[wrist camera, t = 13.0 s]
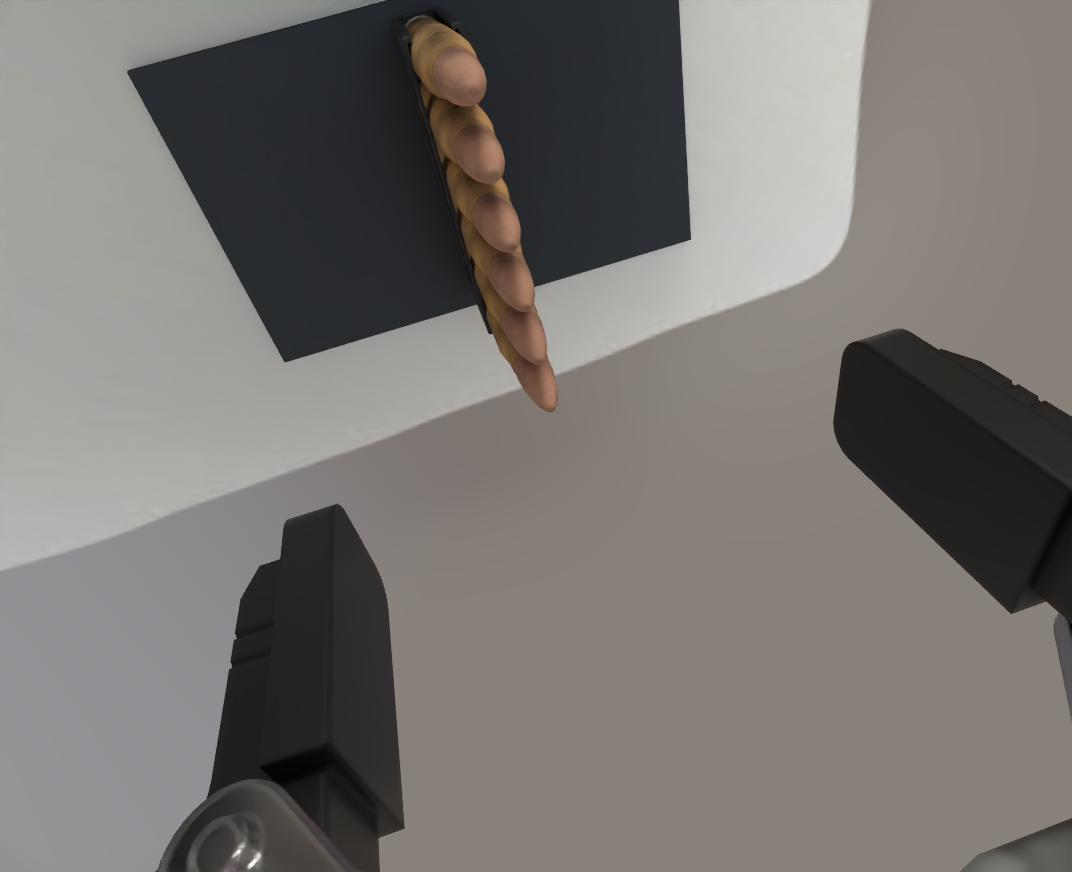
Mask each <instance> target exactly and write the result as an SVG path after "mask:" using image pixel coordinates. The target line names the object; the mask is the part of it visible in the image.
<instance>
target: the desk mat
mask: <svg viewBox="0 0 1072 872" xmlns="http://www.w3.org/2000/svg"><path fill="white" fill-rule="evenodd" d="M436 6H439V7H440V8H442V9H443V10H444V11H446V12H447V13H448V14H450V15H451V16H452V17H454V18H455V19H456V20H458V21H459V22H460V23H461V24H462V26H463V31H464V35H465V39H466V40H467V41H468V42H469V43H470V45H471V46H472V48H473V50H474V51H475V53H476V57H477V59H478V61H479V62H480V64H481V66H482V67H483V69H484V72H485V76H486V80H487V83H486V92H485V94H484V97H483V98H482V99H481V100H480V101H481V105H482V110H483V111H484V112H485V113H486V115H487V116H488V118H489V120H490V121H491V123H492V125H493V129H494V133H495V136H496V138H497V140H498V142H499V143H500V145H501V147H502V150H503V154H504V158H505V167H504V173H503V175H502V177H501V178H502V179H503V181H504V182H505V184H506V186H507V189H508V193H509V199H510V201H511V203H512V206H513V208H514V210H515V211H516V213H517V216H518V220H519V223H520V228H521V237H520V244H521V249H522V255H523V257H524V259H525V262H526V265H527V266H528V268H529V270H530V273H531V277H532V280H533V284H534V287H536V286H539V285H543V284H546V283H549V282H553V281H556V280H559V279H562V278H566V277H569V276H572V275H576V274H579V273H582V272H586V271H589V270H592V269H595V268H599V267H602V266H605V265H609V264H612V263H615V262H619V261H622V260H625V259H629V258H632V257H635V256H638V255H642V254H645V253H648V252H652V251H655V250H658V249H662V248H665V247H668V246H672V245H675V244H678V243H681V242H685V241H688V240H691V232H690V212H689V193H688V173H687V153H686V134H685V114H684V95H683V75H682V55H681V36H680V16H679V0H387V1H383V2H379V3H376V4H372V5H368V6H365V7H361V8H357V9H353V10H350V11H346V12H342V13H339V14H335V15H331V16H328V17H324V18H320V19H316V20H313V21H309V22H305V23H302V24H298V25H294V26H291V27H287V28H283V29H279V30H276V31H272V32H268V33H265V34H261V35H257V36H254V37H250V38H246V39H242V40H239V41H235V42H231V43H228V44H224V45H220V46H217V47H213V48H209V49H205V50H202V51H198V52H194V53H191V54H187V55H183V56H180V57H176V58H172V59H168V60H165V61H161V62H157V63H154V64H150V65H146V66H143V67H139V68H135V69H131V70H129V71H127V73H128V75H129V77H130V78H131V80H132V82H133V84H134V86H135V88H136V90H137V91H138V93H139V95H140V97H141V99H142V101H143V102H144V104H145V106H146V108H147V110H148V112H149V113H150V115H151V117H152V119H153V121H154V123H155V125H156V126H157V128H158V130H159V132H160V134H161V136H162V137H163V139H164V141H165V143H166V145H167V147H168V148H169V150H170V152H171V154H172V156H173V158H174V159H175V161H176V163H177V165H178V167H179V169H180V171H181V172H182V174H183V176H184V178H185V180H186V182H187V183H188V185H189V187H190V189H191V191H192V193H193V194H194V196H195V198H196V200H197V202H198V204H199V206H200V207H201V209H202V211H203V213H204V215H205V217H206V218H207V220H208V222H209V224H210V226H211V228H212V229H213V231H214V233H215V235H216V237H217V239H218V240H219V242H220V244H221V246H222V248H223V250H224V252H225V253H226V255H227V257H228V259H229V261H230V263H231V264H232V266H233V268H234V270H235V272H236V274H237V275H238V277H239V279H240V281H241V283H242V285H243V287H244V288H245V290H246V292H247V294H248V296H249V298H250V299H251V301H252V303H253V305H254V307H255V309H256V310H257V312H258V314H259V316H260V318H261V320H262V321H263V323H264V325H265V327H266V329H267V331H268V333H269V334H270V336H271V338H272V340H273V342H274V344H275V345H276V347H277V349H278V351H279V353H280V355H281V356H282V358H283V360H284V362H288V361H291V360H295V359H298V358H301V357H305V356H308V355H311V354H315V353H318V352H321V351H324V350H328V349H331V348H334V347H338V346H341V345H344V344H348V343H351V342H354V341H357V340H361V339H364V338H367V337H371V336H374V335H377V334H381V333H384V332H387V331H391V330H394V329H397V328H400V327H404V326H407V325H410V324H414V323H417V322H420V321H424V320H427V319H430V318H434V317H437V316H440V315H443V314H447V313H450V312H453V311H457V310H460V309H463V308H467V307H470V306H473V305H476V304H477V302H476V300H475V297H474V295H473V292H472V289H471V287H470V284H469V280H468V277H467V274H466V271H465V267H464V264H463V261H462V257H461V254H460V251H459V247H458V244H457V241H456V237H455V234H454V231H453V227H452V224H451V221H450V217H449V214H448V211H447V207H446V204H445V201H444V197H443V194H442V191H441V187H440V184H439V181H438V177H437V174H436V171H435V167H434V164H433V161H432V157H431V154H430V151H429V147H428V144H427V141H426V137H425V134H424V131H423V127H422V124H421V121H420V117H419V114H418V111H417V107H416V104H415V101H414V97H413V94H412V91H411V87H410V84H409V81H408V78H407V74H406V71H405V68H404V64H403V61H402V58H401V54H400V51H399V48H398V44H397V41H396V38H395V34H394V31H393V28H392V24H391V21H392V19H393V18H396V17H400V16H403V15H407V14H410V13H414V12H418V11H421V10H425V9H428V8H432V7H436Z"/></svg>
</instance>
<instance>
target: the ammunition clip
mask: <svg viewBox="0 0 1072 872" xmlns="http://www.w3.org/2000/svg"><path fill="white" fill-rule="evenodd" d="M391 24H392V28H393V31H394V34H395V38H396V41H397V44H398V48H399V51H400V54H401V58H402V61H403V64H404V68H405V71H406V74H407V78H408V81H409V84H410V87H411V91H412V94H413V97H414V101H415V104H416V107H417V111H418V114H419V117H420V121H421V124H422V127H423V131H424V134H425V137H426V141H427V144H428V147H429V151H430V154H431V157H432V161H433V164H434V167H435V171H436V174H437V177H438V181H439V184H440V187H441V191H442V194H443V197H444V201H445V204H446V207H447V211H448V214H449V217H450V221H451V224H452V227H453V231H454V234H455V237H456V241H457V244H458V247H459V251H460V254H461V257H462V261H463V264H464V267H465V271H466V274H467V277H468V280H469V284H470V287H471V289H472V292H473V295H474V297H475V300H476V302H477V305H478V308H479V310H480V313H481V315H482V318H483V321H484V323H485V326H486V328H487V331H488V333H489V334H493V335H494V338H495V340H496V343H497V345H498V347H499V350H500V352H501V354H502V355H503V356H504V357H505V359H506V360H507V361H508V362H509V363H510V365H511V367H512V369H513V371H514V372H515V374H516V375H517V378H518V380H519V382H520V384H521V385H522V387H523V389H524V390H525V391H526V393H527V394H528V396H529V397H530V398H531V399H532V400H533V401H534V402H535V403H536V404H537V405H538V406H539V407H540V408H542V409H543V410H545V411H548V412H553V411H554V410H555V408H556V406H557V399H558V392H557V384H556V380H555V376H554V372H553V369H552V367H551V364H550V362H549V360H548V356H547V354H546V353H547V342H546V336H545V332H544V329H543V325H542V322H541V320H540V318H539V316H538V314H537V310H536V307H535V305H534V295H535V291H534V284H533V280H532V277H531V273H530V270H529V268H528V266H527V265H526V262H525V259H524V257H523V255H522V249H521V244H520V237H521V228H520V223H519V220H518V216H517V213H516V211H515V210H514V208H513V206H512V203H511V201H510V199H509V193H508V189H507V186H506V184H505V182H504V181H503V179H502V178H501V177H502V175H503V173H504V167H505V158H504V154H503V150H502V147H501V145H500V143H499V142H498V140H497V138H496V136H495V133H494V129H493V125H492V123H491V121H490V120H489V118H488V116H487V115H486V113H485V112H484V111H483V110H482V105H481V101H480V100H481V99H482V98H483V97H484V94H485V92H486V83H487V80H486V76H485V72H484V69H483V67H482V66H481V64H480V62H479V61H478V59H477V57H476V53H475V51H474V50H473V48H472V46H471V45H470V43H469V42H468V41H467V40H466V39H465V35H464V31H463V26H462V24H461V23H460V22H459V21H458V20H456V19H455V18H454V17H452V16H451V15H450V14H448V13H447V12H446V11H444V10H443V9H442V8H440V7H439V6H436V7H432V8H428V9H425V10H421V11H418V12H414V13H410V14H407V15H403V16H400V17H396V18H393V19H392V21H391Z"/></svg>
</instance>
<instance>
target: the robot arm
mask: <svg viewBox="0 0 1072 872" xmlns="http://www.w3.org/2000/svg"><path fill="white" fill-rule="evenodd" d="M833 424H834V432H835V436H836V439H837V442H838V444H839V446H840V448H841V449H842V451H843V453H844V454H845V455H846V456H847V457H848V458H849V460H851V461H852V462H853V463H854V464H855V465H856V466H857V467H858V468H859V469H860V470H861V471H862V472H863V473H864V474H865V475H866V476H867V477H868V478H869V479H871V480H872V481H873V482H874V483H875V484H876V485H877V486H878V487H879V488H880V489H881V490H882V491H883V492H884V493H885V494H886V495H887V496H888V497H889V498H890V499H891V500H892V501H893V502H894V503H896V504H897V505H898V506H899V507H900V508H901V509H902V510H903V511H904V512H905V513H906V514H907V515H908V516H909V517H910V518H911V519H912V520H913V521H914V522H915V523H916V524H918V525H919V526H920V527H921V528H922V529H923V530H924V531H925V532H926V533H927V534H928V535H929V536H930V537H931V538H932V539H933V540H934V541H935V542H936V543H937V544H938V545H939V546H941V547H942V548H943V549H944V550H945V551H946V552H947V553H948V554H949V555H950V556H951V557H952V558H953V559H954V560H955V561H956V562H957V563H958V564H959V565H961V567H963V568H964V569H965V570H966V571H967V572H968V573H969V574H970V575H971V576H972V577H973V578H974V579H975V580H976V581H977V582H978V583H979V584H980V585H981V586H982V587H983V588H984V589H986V590H987V591H988V592H989V593H990V594H991V595H992V596H993V597H994V598H995V599H996V600H997V601H998V602H999V603H1000V604H1001V605H1002V606H1004V608H1005V609H1006V610H1007V611H1009V612H1010V613H1011V614H1012V613H1015V612H1018V611H1021V610H1024V609H1026V608H1029V607H1032V606H1035V605H1038V604H1040V603H1043V602H1046V601H1047V602H1048V603H1049V604H1050V605H1051V606H1052V607H1053V608H1054V609H1056V610H1057V611H1058V612H1059V613H1058V615H1057V616H1056V618H1055V621H1054V635H1055V640H1056V645H1057V650H1058V655H1059V660H1060V665H1061V670H1062V675H1063V680H1064V685H1065V690H1066V695H1067V700H1068V705H1069V710H1070V715H1071V720H1072V417H1071V416H1070V415H1068V414H1066V413H1065V412H1063V411H1061V410H1059V409H1058V408H1057V407H1055V406H1053V405H1052V404H1050V403H1048V402H1047V401H1043V402H1040V401H1039V400H1038V396H1037V395H1035V394H1033V393H1031V392H1030V391H1028V390H1027V389H1025V388H1024V387H1022V386H1020V385H1019V384H1018V385H1015V386H1014V385H1013V384H1012V380H1010V379H1009V378H1007V377H1005V376H1004V375H1002V374H1000V373H999V372H997V371H996V370H994V369H992V368H991V367H989V366H987V365H986V364H984V363H982V362H980V361H978V360H974V359H971V358H968V357H965V356H962V355H959V354H955V353H952V352H949V351H946V350H943V349H940V350H938V349H936V348H935V347H933V346H932V345H930V344H928V343H927V342H925V341H924V340H922V339H920V338H919V337H917V336H916V335H914V334H912V333H911V332H909V331H907V330H904V329H893V330H890V331H887V332H884V333H881V334H878V335H875V336H871V337H868V338H865V339H862V340H859V341H856V342H852V343H850V344H849V345H848V346H847V347H846V348H845V350H844V352H843V355H842V361H841V368H840V376H839V383H838V390H837V398H836V406H835V413H834V421H833ZM235 634H236V637H237V639H236V640H234V643H233V650H232V656H231V663H232V668H231V669H230V670H229V674H228V681H227V687H226V693H225V699H224V705H223V711H222V718H221V724H220V730H219V737H218V743H217V749H216V755H215V761H214V767H213V774H212V780H211V784H210V789H209V793H208V796H207V799H206V800H205V801H204V802H202V803H201V804H200V805H199V806H198V807H197V808H196V809H195V810H194V811H193V812H192V813H191V814H190V815H189V816H188V817H187V819H186V820H185V821H184V822H183V823H182V825H181V826H180V827H179V829H178V830H177V831H176V833H175V834H174V836H173V837H172V839H171V841H170V843H169V844H168V846H167V848H166V850H165V852H164V854H163V857H162V859H161V861H160V864H159V867H158V870H157V871H156V872H380V866H379V842H378V838H380V837H382V836H385V835H388V834H391V833H393V832H396V831H399V830H402V829H404V828H405V827H404V814H403V800H402V787H401V773H400V760H399V748H398V733H397V720H396V706H395V693H394V679H393V666H392V653H391V639H390V626H389V613H388V603H387V597H386V593H385V589H384V585H383V582H382V579H381V577H380V574H379V572H378V570H377V568H376V566H375V564H374V562H373V560H372V559H371V557H370V555H369V553H368V551H367V549H366V548H365V546H364V545H363V542H362V540H361V539H360V537H359V535H358V533H357V531H356V530H355V528H354V526H353V524H352V522H351V521H350V519H349V517H348V516H347V514H346V512H345V510H344V509H343V508H342V507H341V506H340V505H339V504H335V505H332V506H329V507H326V508H322V509H319V510H316V511H313V512H310V513H307V514H304V515H300V516H297V517H294V518H291V519H288V520H287V521H286V522H285V525H284V529H283V538H282V547H281V557H280V560H276V561H273V562H270V563H267V564H264V565H261V566H259V568H258V570H257V571H256V573H255V575H254V577H253V578H252V580H251V582H250V584H249V585H248V587H247V589H246V591H245V592H244V594H243V596H242V598H241V599H240V606H239V612H238V618H237V624H236V630H235ZM960 872H1072V818H1071V819H1069V820H1066V821H1063V822H1061V823H1058V824H1056V825H1053V826H1051V827H1048V828H1046V829H1043V830H1040V831H1038V832H1036V833H1033V834H1030V835H1028V836H1025V837H1023V838H1020V839H1017V840H1015V841H1012V842H1010V843H1007V844H1004V845H1002V846H999V847H997V848H994V849H992V850H989V851H987V852H984V853H981V854H979V855H977V856H976V857H975V858H974V859H973V860H972V861H971V862H970V863H969V864H968V865H966V866H965V867H964V868H963V869H962V870H961V871H960Z"/></svg>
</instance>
